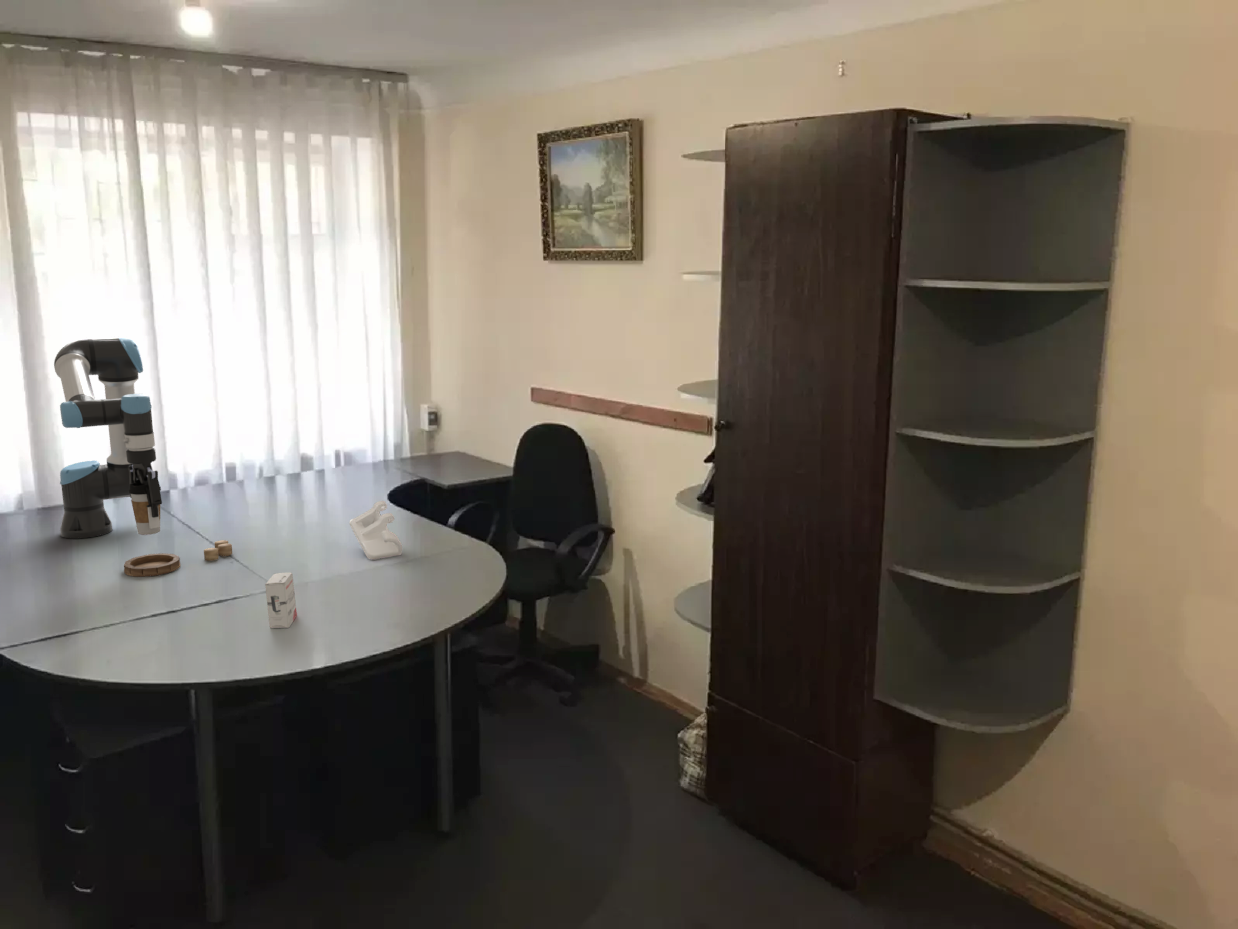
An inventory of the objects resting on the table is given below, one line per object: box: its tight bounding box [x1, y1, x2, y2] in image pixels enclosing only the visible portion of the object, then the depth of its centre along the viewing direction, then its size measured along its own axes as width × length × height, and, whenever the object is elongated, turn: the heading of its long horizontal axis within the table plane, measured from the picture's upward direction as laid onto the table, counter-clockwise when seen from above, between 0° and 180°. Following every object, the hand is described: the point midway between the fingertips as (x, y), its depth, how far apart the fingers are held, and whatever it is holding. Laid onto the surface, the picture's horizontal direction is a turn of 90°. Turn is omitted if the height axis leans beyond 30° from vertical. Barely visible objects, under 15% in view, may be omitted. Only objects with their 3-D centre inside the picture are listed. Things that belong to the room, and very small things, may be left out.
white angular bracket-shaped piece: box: [349, 500, 403, 561], centre depth 301 cm, size 20×11×13 cm, turn 36°
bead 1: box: [203, 547, 220, 562], centre depth 293 cm, size 4×4×3 cm
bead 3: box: [218, 543, 233, 557], centre depth 297 cm, size 4×4×3 cm
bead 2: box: [214, 539, 229, 548], centre depth 300 cm, size 4×4×3 cm
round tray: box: [123, 552, 182, 578], centre depth 283 cm, size 15×15×2 cm
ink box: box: [264, 572, 298, 629], centre depth 242 cm, size 9×5×12 cm, turn 5°
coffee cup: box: [129, 480, 162, 536], centre depth 279 cm, size 8×8×15 cm
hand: (148, 525), depth 280 cm, fingers closed on coffee cup, 8 cm apart
